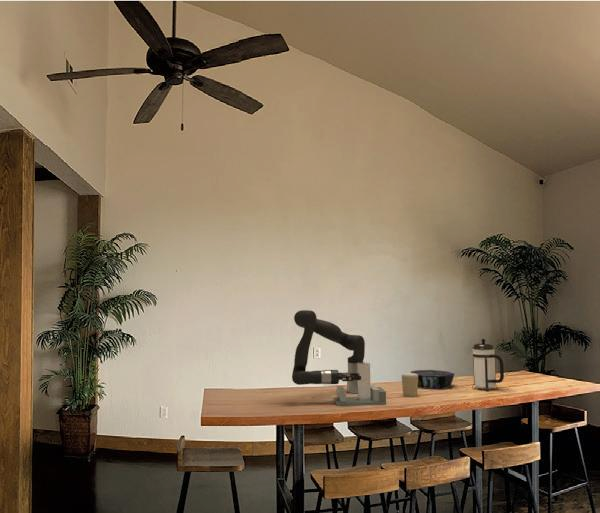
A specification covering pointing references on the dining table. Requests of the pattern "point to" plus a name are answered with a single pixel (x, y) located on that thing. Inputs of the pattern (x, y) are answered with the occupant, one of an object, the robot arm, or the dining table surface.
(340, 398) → the sliding jaw
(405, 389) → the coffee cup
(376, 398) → the vise base
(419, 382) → the decorative bowl
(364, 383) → the steel block
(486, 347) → the coffee press
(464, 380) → the dining table surface
